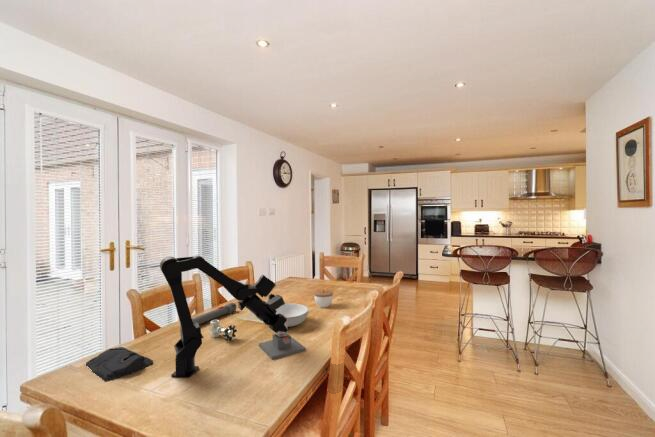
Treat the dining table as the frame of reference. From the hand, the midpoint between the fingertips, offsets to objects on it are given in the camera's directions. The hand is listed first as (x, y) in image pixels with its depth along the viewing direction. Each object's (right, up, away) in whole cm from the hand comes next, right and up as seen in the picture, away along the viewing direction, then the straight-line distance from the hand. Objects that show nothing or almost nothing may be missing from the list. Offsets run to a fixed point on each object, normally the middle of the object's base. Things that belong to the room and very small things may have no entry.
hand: (284, 329), depth 125 cm
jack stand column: (-1, -6, -1) cm, 6 cm away
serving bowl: (-3, -7, +27) cm, 28 cm away
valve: (-29, -7, +10) cm, 31 cm away
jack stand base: (-1, -7, -1) cm, 7 cm away
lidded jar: (+15, -6, +54) cm, 57 cm away
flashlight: (-41, -7, +34) cm, 53 cm away
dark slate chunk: (-57, -8, -13) cm, 59 cm away
